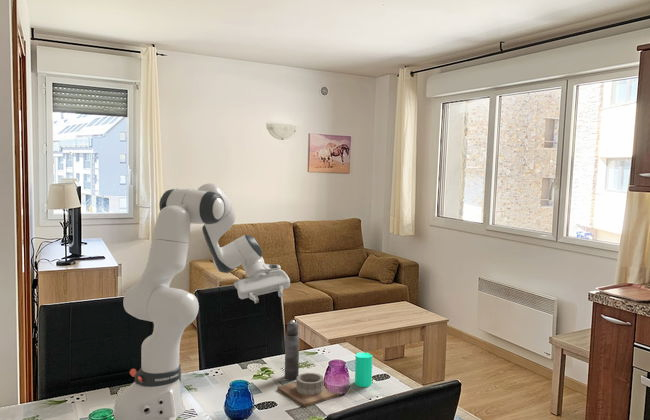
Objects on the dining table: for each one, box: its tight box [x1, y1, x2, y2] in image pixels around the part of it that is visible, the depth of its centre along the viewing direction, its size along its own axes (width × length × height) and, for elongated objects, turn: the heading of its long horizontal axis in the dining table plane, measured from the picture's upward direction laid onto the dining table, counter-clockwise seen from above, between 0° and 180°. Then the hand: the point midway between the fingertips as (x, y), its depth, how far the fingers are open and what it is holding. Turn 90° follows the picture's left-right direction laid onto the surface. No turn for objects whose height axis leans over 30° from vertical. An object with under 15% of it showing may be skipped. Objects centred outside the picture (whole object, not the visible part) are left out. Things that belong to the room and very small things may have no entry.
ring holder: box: [276, 372, 340, 408], centre depth 171 cm, size 16×16×5 cm
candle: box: [354, 352, 373, 388], centre depth 179 cm, size 6×6×12 cm
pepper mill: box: [284, 319, 300, 381], centre depth 182 cm, size 5×5×21 cm
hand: (269, 298), depth 186 cm, fingers open, 8 cm apart
